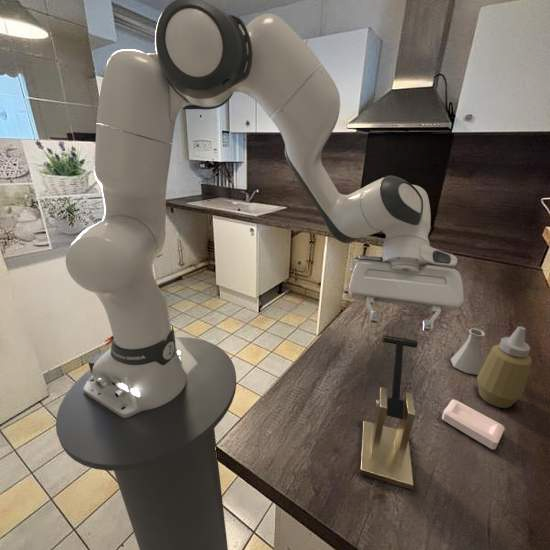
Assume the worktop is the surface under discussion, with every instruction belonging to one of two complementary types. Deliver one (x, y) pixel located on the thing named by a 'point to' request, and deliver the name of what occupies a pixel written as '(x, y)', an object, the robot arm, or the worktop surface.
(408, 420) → the cream lever mount
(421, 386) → the worktop surface
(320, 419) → the worktop surface
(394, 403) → the lever
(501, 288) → the worktop surface
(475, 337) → the flask
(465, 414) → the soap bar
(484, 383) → the squeeze bottle
